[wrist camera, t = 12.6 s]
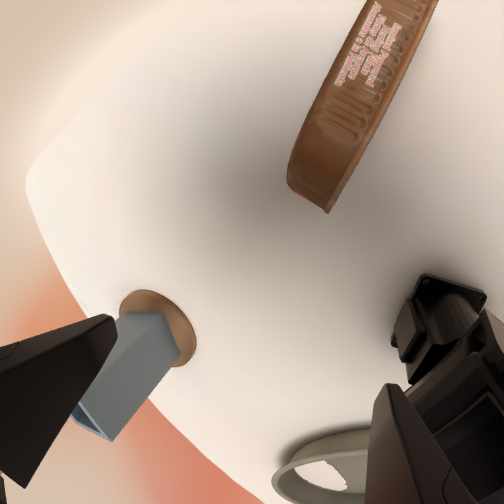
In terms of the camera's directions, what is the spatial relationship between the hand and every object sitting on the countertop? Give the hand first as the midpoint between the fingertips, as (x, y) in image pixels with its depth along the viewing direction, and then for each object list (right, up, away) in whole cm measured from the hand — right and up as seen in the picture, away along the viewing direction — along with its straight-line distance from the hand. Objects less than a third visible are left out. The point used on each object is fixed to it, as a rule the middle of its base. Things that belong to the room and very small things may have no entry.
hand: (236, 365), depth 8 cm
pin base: (-9, -4, +20) cm, 22 cm away
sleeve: (-9, -5, +19) cm, 22 cm away
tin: (+8, +14, +7) cm, 17 cm away
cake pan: (+16, -25, +20) cm, 36 cm away
